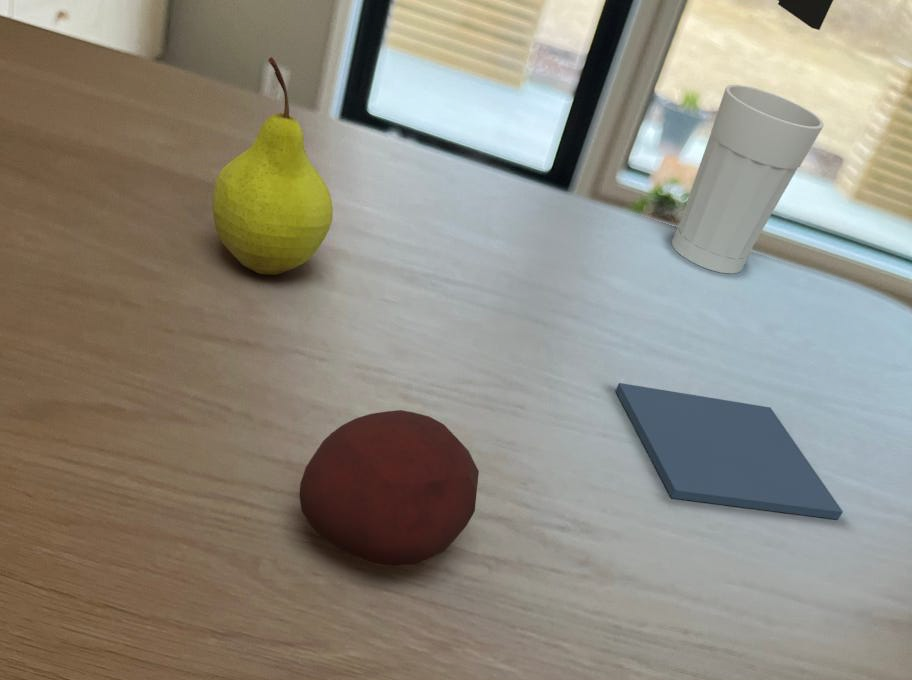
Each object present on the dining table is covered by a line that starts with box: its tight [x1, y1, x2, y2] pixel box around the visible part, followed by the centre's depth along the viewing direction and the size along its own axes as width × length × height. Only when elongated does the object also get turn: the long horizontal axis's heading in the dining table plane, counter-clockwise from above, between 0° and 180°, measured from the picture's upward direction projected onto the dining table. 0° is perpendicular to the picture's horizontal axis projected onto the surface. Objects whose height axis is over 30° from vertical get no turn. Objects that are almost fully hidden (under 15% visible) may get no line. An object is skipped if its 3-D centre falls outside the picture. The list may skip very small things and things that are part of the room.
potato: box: [299, 409, 480, 567], centre depth 46 cm, size 7×8×6 cm
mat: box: [615, 382, 844, 520], centre depth 63 cm, size 11×11×1 cm
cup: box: [671, 84, 825, 274], centre depth 84 cm, size 8×8×12 cm
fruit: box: [212, 57, 334, 276], centre depth 61 cm, size 7×7×12 cm
